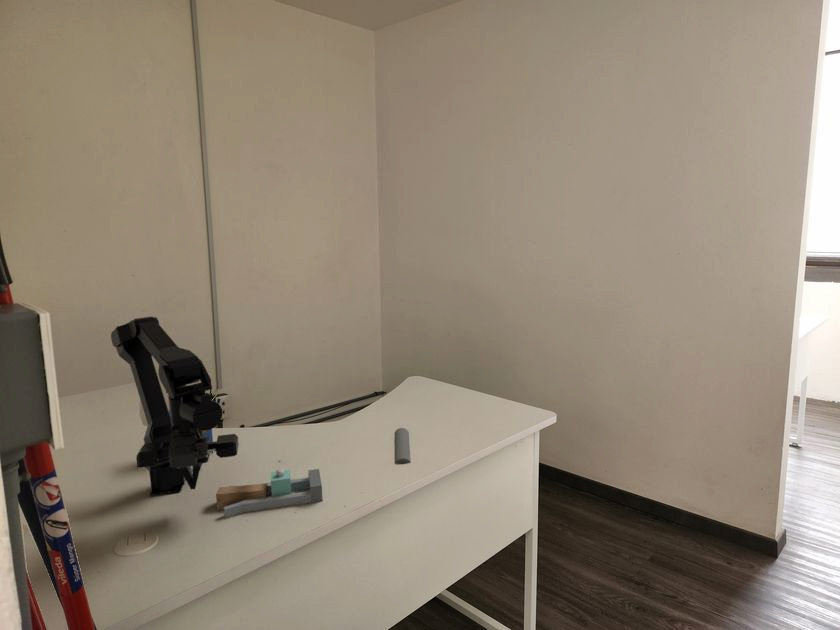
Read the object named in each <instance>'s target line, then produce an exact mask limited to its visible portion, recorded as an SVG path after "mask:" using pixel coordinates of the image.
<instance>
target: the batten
mask: <svg viewBox="0 0 840 630" xmlns="http://www.w3.org/2000/svg"><path fill="white" fill-rule="evenodd" d="M229 486H230V487H229ZM229 486H219V487H218V489H217V492H216V494H215V497H216V508H217V509H224V507H226V506H229V505H232V504H235V503H239V502H242V501H244V500H251V499H258V498H265V497H269V494H268V485H267V484H263V483H258V484H245V485H229Z"/></svg>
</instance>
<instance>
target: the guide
mask: <svg viewBox="0 0 840 630" xmlns="http://www.w3.org/2000/svg"><path fill="white" fill-rule="evenodd" d="M307 472H308V473H307V475H308V477H302V478H301V477H300V478H295V479H290V481H291V491H295V490H296V489H298V490H303V489H302V488H305V489H309V490H308V491H302V492H301V491H300V492H296V493H295V492H294V493H291V494H286V495H279V496H272V495H271V496H268V497H265V498H258V499H251V500H244V501H242V502H239V503H235V504H232V505H229V506H226V507H224V508H223V513H224V517H225V519H227V518H230V517H233V516H236V515H239V514H242V513H248V512H254V511H261V510H269V509H275V508H282V507H288V506H295V505H303V504H308V503H315V502H316V501H317V502H322V501H323V485H322V484H323V483H322V479H321V472H320V468H315V469H309V470H308V471H307ZM262 484H267V485H268V493H269V494H272V491H271V482H263V483H262ZM230 486H231V485H228V487H230ZM296 491H297V490H296Z"/></svg>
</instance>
